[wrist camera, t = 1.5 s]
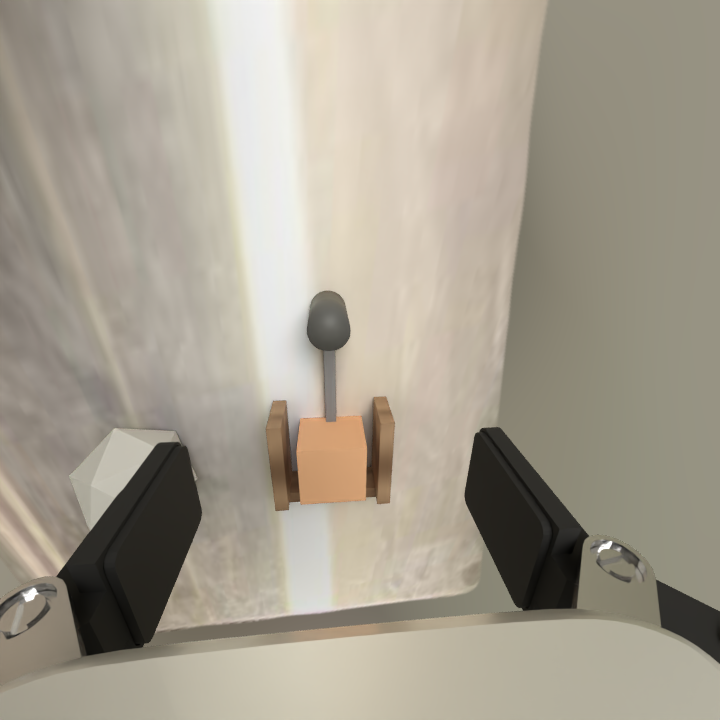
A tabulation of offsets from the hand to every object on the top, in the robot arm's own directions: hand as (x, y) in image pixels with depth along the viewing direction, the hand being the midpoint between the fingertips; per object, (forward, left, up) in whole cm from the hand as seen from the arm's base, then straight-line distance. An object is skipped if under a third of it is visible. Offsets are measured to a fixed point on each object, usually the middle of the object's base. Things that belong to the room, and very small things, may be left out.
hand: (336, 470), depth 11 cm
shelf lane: (+13, 0, -20) cm, 24 cm away
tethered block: (+8, 0, -20) cm, 21 cm away
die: (+14, -17, -20) cm, 30 cm away
